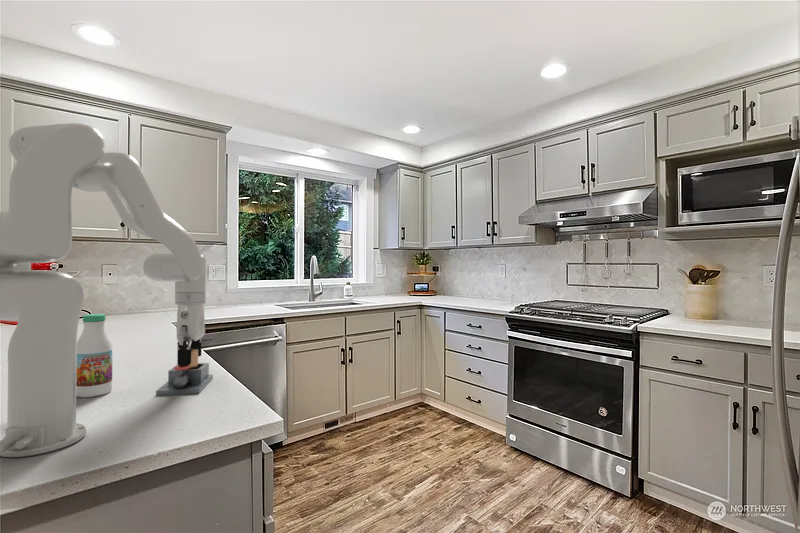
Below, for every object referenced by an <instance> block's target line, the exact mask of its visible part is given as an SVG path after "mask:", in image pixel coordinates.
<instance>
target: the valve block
mask: <svg viewBox="0 0 800 533" xmlns="http://www.w3.org/2000/svg"><path fill="white" fill-rule="evenodd" d="M189 368H190V365H178V364H176V365H175V366H174V367H172V368H170V369H169V370H168V373H167V375H168V380H167V381H166V382H165V383H164V384H163V385H161V386H160V387H159V388H158V389H156V390H155V396H157V395H159V396H175V395H176V396H178V395H179V396H180V395H198V394H201V392H202V391H203V390H204V389H206V387H207V385H209V384H210V382H212V380H213V377H214V374H212V373H211V374H209V371H210V370H209V368H210V363H209V362H198V369H189ZM187 369H188V370H187ZM205 386H206V387H205Z"/></svg>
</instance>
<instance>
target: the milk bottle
mask: <svg viewBox="0 0 800 533" xmlns="http://www.w3.org/2000/svg"><path fill="white" fill-rule="evenodd" d="M105 323H106V314H104V313H92V314H91V313H90V314H85V315H84V314H83V316H82V324H83V329H82V332H81V335H80V336H79V337H78V339H77V371H76V398H93V397H98V396H102V395H106V394H109V393H110V392H111V391H112V389H113V345H112V344H113V343H112V341H111V338H110V336H109V335H108V332H107V330H106V328H105V327H106V326H105Z"/></svg>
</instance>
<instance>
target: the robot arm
mask: <svg viewBox="0 0 800 533" xmlns="http://www.w3.org/2000/svg"><path fill="white" fill-rule="evenodd" d="M105 146H106V145H105V140H104V137H103V135H102V134H101V132H100V131H99V130H98V129H96V128H94V127H93V126H91V125H87V124H84V123H83V124H82V123H75V122H73V123H71V122H70V123H55V124H47V125H46V124H45V125H33V126H32V125H31V126H25V127H22V128H19V129H16V131H14V132H12V134H11V135H10V137H9V140H8V149H9V152H10V154H11V156H12V157H13V159H15V161H16V162H15V164H14V166H13V168H12V171H11V174H10V179H9V190H8V191H9V194H8V211H0V321H7V322H17V323H16V326H15V329H14V330H13V332H12V334H11V338H10V340H9V343H8V348H7V428H4V429H5V430H4V431H5V432H4V433H5V435H4V437H3V438H1V439H0V457H3V458H20V457H21V458H22V457H30V456H36V455H41V454H45V453H49V452H54V451H58V450H59V449H62V448H65V447H69V446H70V445H73V444H75V443H77V442H78V441H80V440H81V439H83V438H84V437H85V436H86V433H87V427H86V426H85V425H84V424H82V423H77V397H76V371H77V342H78V328H79V323H80V318H81V314H82V310H83V306H84V301H85V299H84V298H85V293H84V289H83V287H82V285H81V283H80V282H79V280H77V279H76V278H75V277H73V276H71V275H70V274H67V273H65V272H62V271H56V270H48V269H47V270H46V269H45V270H41V269H40V270H39V269H37V270H36V269H32V264H46V263H54V262H58V261H61V260H64V259H65V258H66V257H68V256H69V254H70V253H71V250H72V246H73V221H72V219H73V218H72V193H73V189H77V190H80V191H84V192H89V193H91V192H94V193H95V192H97V193H98V192H105V194H106V195H107V197H108V198H109V200H110V201H111V204H112V205H113V207H114V209H115V210H116V212H117V215H118V216H119V218H120V220H121V221H122V223H123V225H124V226H125V228H126V227H127V228H128V229H130V230H132V231H133V232H136V233H138V234H140V235H142V236H145V237H147V238H150V239H152V240H155V241H157V242H158V243H160V244H161V245H163V246H164V247H166V248H167V250H169V251H170V252H166V251H162V252H154V253H151V254H150V255H148V256H147V257H146V258H145V260H144V261H143V265H142V268H143V272H144V274H145V275H146V277H148V278H149V279H151V280H153V281H155V282H156V281H157V282H174V305H176V306H177V313H176V314H177V315H176V340H177V344H176V345H177V348H176V349H177V356H176V357H177V358H176V359H177V363H176V365H190V364H191V349H197V350H198V357H202V338H203V337H204V336H205V335H206V325H205V324H206V322H205V321H206V320H205V318H206V317H205V308H204V305H205V304H206V294H207V293H206V290H207V289H206V287H207V286H206V282H207V279H206V276H207V273H206V271H207V270H206V269H207V264H206V263H207V260H206V259H207V258H206V257H205V255H203V254H201V251H200V249H199V246H198V245H197V243H196V241H195V239H194V238H193V236H192V235H191V234H190V233H189V232H188V231H187V230H186V229H185V228H183V226H182V225H180V224H179V223H178V222H177V221H175V220H174V219H173V218H172V217H170V216H169V215H167V214H166V213H165V212H164V210H162V208H161V206H160V204H159V202H158V200H157V198H156V196H155V194H154V192H153V190H152V187H151V186H150V184H149V182H148V180H147V178H146V175H145V174H144V172H143V170H142V167H141V166H140V164H139V162H138V161H137V160H136V158H134V157H133V156H131V155H130V154H127V153H124V152H123V153H122V152H117V151H115V152H114V151H113V152H112V151H111V152H110V151H109V152H105Z"/></svg>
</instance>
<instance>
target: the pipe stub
mask: <svg viewBox="0 0 800 533" xmlns="http://www.w3.org/2000/svg"><path fill="white" fill-rule="evenodd" d="M198 363H199V356H198V350H197V349H191V364H190V368H189V369H198ZM187 370H188V369H187Z"/></svg>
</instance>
